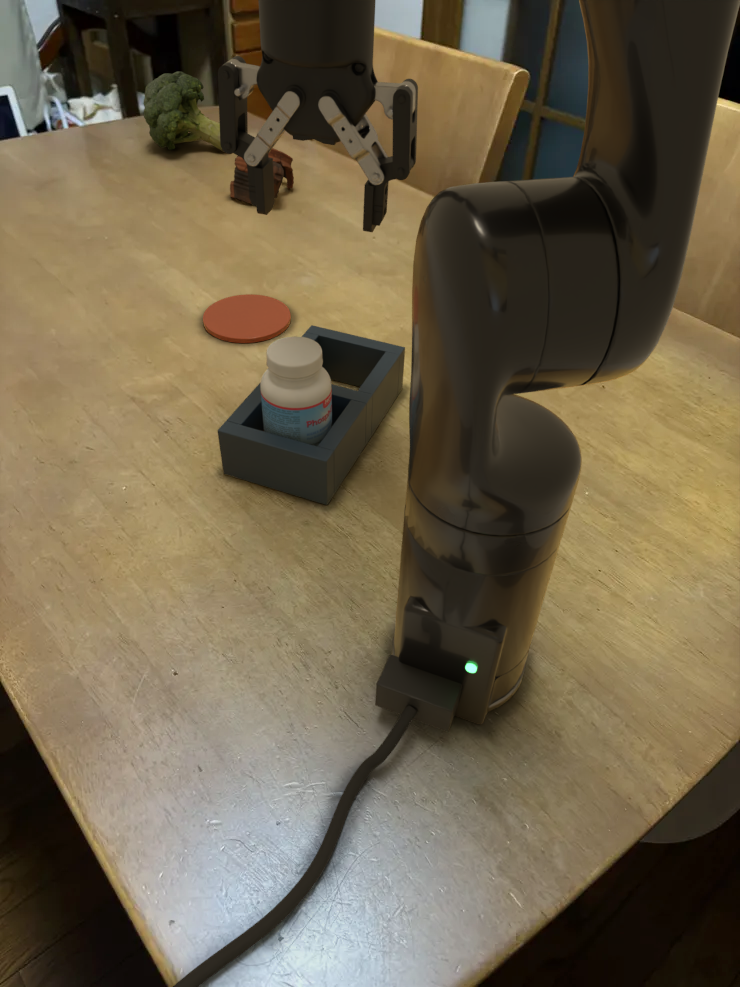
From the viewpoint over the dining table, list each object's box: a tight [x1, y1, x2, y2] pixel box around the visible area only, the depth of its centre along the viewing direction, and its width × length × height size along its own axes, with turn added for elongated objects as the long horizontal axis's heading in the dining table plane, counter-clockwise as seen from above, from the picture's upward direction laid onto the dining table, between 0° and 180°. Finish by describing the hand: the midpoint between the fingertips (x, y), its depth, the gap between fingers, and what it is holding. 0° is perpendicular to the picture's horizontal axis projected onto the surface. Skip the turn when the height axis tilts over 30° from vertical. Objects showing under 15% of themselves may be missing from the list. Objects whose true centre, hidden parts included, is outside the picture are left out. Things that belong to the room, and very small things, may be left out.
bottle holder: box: [217, 324, 406, 506], centre depth 71 cm, size 19×10×5 cm, turn 158°
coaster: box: [202, 293, 292, 344], centre depth 86 cm, size 10×10×1 cm
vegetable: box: [143, 70, 224, 152], centre depth 124 cm, size 12×13×15 cm
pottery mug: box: [229, 147, 295, 205], centre depth 111 cm, size 12×10×8 cm
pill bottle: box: [259, 335, 332, 447], centre depth 65 cm, size 6×6×11 cm
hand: (318, 219), depth 59 cm, fingers open, 8 cm apart
